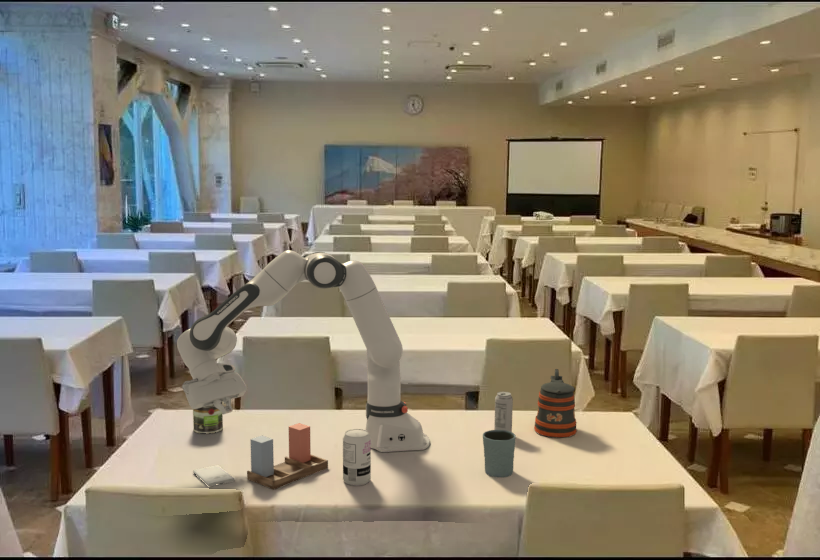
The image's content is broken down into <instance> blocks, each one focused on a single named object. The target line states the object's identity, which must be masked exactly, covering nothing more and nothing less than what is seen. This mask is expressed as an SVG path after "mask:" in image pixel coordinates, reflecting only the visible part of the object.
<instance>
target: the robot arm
mask: <svg viewBox="0 0 820 560" xmlns="http://www.w3.org/2000/svg"><path fill="white" fill-rule="evenodd" d="M306 281H307V282H309V283H310V284H311V285H312V286H314V287H316V288H318V289H324V290H325V289H332V288H338V289H339V291H340V292H341V294H342V296H343V299H344V301H345V303H346V305H347V307H348V310H349V313H350V314H351V317H352V319H353V320H354V323H355V325H356V327H357V329H358V332H359V334H360V336H361V339H362V341H363V343H364V346H365V348H366V373H367V401H366V403H365V417H366V424H365V430H366V431H368V433H369V435H370V437H371V449H373V450H377V451H378V452H380V453H388V452H389V453H390V452H392V453H394V452H407V451H408V452H409V451H422V450H423V451H424V450H426V449H428V448H429V446H430V437H429V435H427V434H426V433H424V430H423V426H422V424H421V423H420V421H419V420H418V419H417V418H416V417H414V416H412V415H411V414H409V413H408V406H407V403H406V402H405V401H402V400H401V391H402V390H401V389H402V387H401V382H402V381H401V380H402V379H401V378H402V377H401V367H400V361H401V358H402V356H403V344H402V341H401V340H400V337H399V335H398V333H397V330H396V329H395V325H394V323H393V322H392V321H393V320H391V317H390V315H389V313H388V310H387V309H386V306H385V304H384V302H383V299H382V297H381V294H380V292H379V290H378V288H377V286H376V283H375V282H374V279H373V278H372V276H371V274H370V273H369V271H368V270H367V268H366V267H365V265H364V264H363V263H362V262H361V261H360V260H348V261H346V262H343V263H341V262H340V261H339V260H338V259H336V258H335V257H334V256H333V255H332V254H329V253H327V252H323V251H315V252H312V253H310V254H306V255H302V254H300V253H298V252H297V251H295V250H289V249H288V250H287V249H286V250H284V251H283V252H282V253H280V254H278V255H277V256H276V257H275V258H273V259H272V260H271V261H270V262H268V264H267V265H265V267H263V269H261V270H260V271H259V272H258V273H257V274H256V275H255V276H254V277H253V278H252V279H250V281H248V282H246V283H245V284H244V285H242V286H241V287H240V288H239V289H237V290H236V291H234V292H233V293H232V294H231V295H230V296H228V297H227V298H226V299H225V300H224V301H223V302H222V303H220V304H219V305H218V306H217V307H216V308H215V309H214V310H212V311H211V312H210V313H208V314H206V315H204V316H202V317H200V318H198V319H196V320H195V321H194V322H193V324H192V325H191V327H190V328H189V329H186V330H185V331H184V332H182V333H181V334H180V335H179V337H178V338H177V340H176V346H177V350H178V352H179V355H180V358H181V359H182V362H183V363H184V365H185V366H186V367H187V368H188V370H189V374H190V376H191V377H192V379H190V380H185V381H184V382H183V383H182V385H181V389H182V390H183V393H184V394H185V397H186V399H187V402H188V404H189V407H190V408H191V409H192V410H193V409H198V408H201V407H205V406H208V405H212V404H214V406H215V407H216V408H217V409H219V410H221V412H222V415H226V414H229V413H232V412H233V407H232V405H231V404H232V400H233V399H237V398H241V397H243V396H245V394H246V393H247V391H248V386H247V384H246V383H245V380H244V379H243V378H242V376H241V375H240V373H238V372H237V371H236V367H235V366H234V364H224V363H220V362H217V361H216V360H218V359H221V358H222V357H225V356H226V355H229V354H230V353H232V352H233V351H234V349H235V347H236V346H237V342H238V337H237V334H236V332H235V331H234V330H233V328H232V327H231V328H230V327H229V325H231V324H232V322H234V321H235V320H236V319H237V318H238V317H239V316H240V315H241V314H243V313H245V311H247V310H249V309H251V308H257V307H270V306H274V305H276V304H277V303H279V302H280V301H282V300H283V299H284V298H285V297H286V296H287V295H288V294H289V293H290V292H291V291H292V289H293V288H294V287H295V286H296V285H298V284H299V283H301V282H306ZM235 371H236V372H235ZM221 402H222V404H221ZM224 405H225V406H224Z"/></svg>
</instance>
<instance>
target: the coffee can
mask: <svg viewBox="0 0 820 560" xmlns="http://www.w3.org/2000/svg"><path fill="white" fill-rule="evenodd" d="M221 404H222V405H223V402H221ZM223 415H224V414H222V412H221V410H219V409H217V408H216V407H215V406H214V404H212V405H208V406H205V407H201V408H198V409H193V408H192V428H193V429H192V431H193V432H194V433H197V434H200V433H206V434H205V435H210V434H209V433H211V434H216V433H219V432H221V431H222V430H223V429H224V425H223V424H224V423H223V422H224V419H223ZM215 432H216V433H215Z"/></svg>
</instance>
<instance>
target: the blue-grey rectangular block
mask: <svg viewBox="0 0 820 560" xmlns="http://www.w3.org/2000/svg"><path fill="white" fill-rule="evenodd" d="M274 459H275V458H274V438H271V437H268V436H265V435H264V434H263V435H262V434H261V435H258V436H256V437H253V438H250V471H251V472H254V473H256V474H259V475H261V476H264V477H267V476H270V475H273V474H274V466H275V465H274V461H275V460H274Z"/></svg>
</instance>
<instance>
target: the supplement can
mask: <svg viewBox="0 0 820 560" xmlns="http://www.w3.org/2000/svg"><path fill="white" fill-rule="evenodd" d="M371 451H372V448H371V437H370V435H369V433H368V431H366V429H361V428H354V429H348V430H346V431H345V433H344V436H343V437H342V480H343V482H345V484H346V485H349V486H355V487H356V486H357V487H359V486H364V485H366V484H368V483H369V482H370V481H371V478H372V477H371V476H372V474H371V473H372V470H371V469H372V466H371V465H372V463H371V462H372V461H371V460H372V452H371Z"/></svg>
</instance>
